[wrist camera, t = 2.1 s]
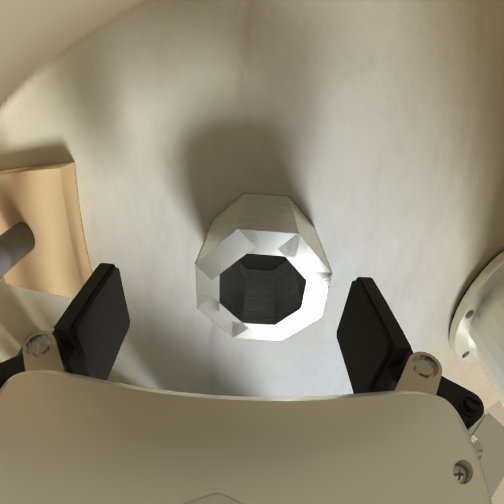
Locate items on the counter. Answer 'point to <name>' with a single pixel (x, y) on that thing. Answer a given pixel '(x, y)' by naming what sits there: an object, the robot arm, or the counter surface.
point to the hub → (262, 281)
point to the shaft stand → (42, 230)
